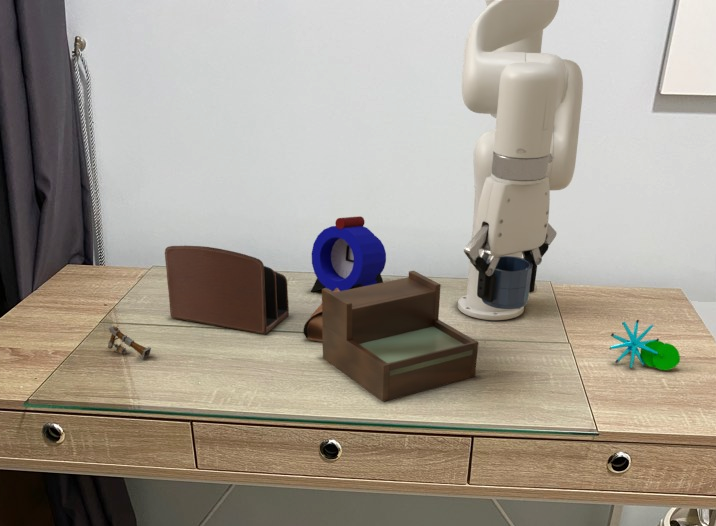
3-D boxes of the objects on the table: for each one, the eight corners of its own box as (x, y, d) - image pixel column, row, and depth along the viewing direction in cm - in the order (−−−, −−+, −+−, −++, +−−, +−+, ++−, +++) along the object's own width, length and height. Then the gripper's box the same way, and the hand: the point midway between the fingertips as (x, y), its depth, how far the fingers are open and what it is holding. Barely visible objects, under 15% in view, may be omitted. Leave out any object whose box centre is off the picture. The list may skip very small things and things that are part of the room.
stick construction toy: (602, 353, 144) (623, 310, 143) (596, 361, 151) (616, 320, 150) (669, 383, 142) (691, 340, 142) (660, 390, 149) (681, 348, 149)
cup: (507, 288, 132) (512, 252, 129) (537, 303, 127) (542, 266, 124) (472, 297, 129) (475, 260, 126) (501, 312, 124) (505, 275, 121)
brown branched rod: (107, 342, 149) (112, 321, 146) (145, 367, 149) (151, 346, 146) (101, 346, 148) (106, 324, 145) (139, 371, 147) (145, 350, 144)
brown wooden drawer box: (322, 357, 147) (321, 288, 140) (410, 336, 155) (413, 270, 148) (382, 401, 134) (385, 328, 127) (475, 376, 141) (482, 305, 134)
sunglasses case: (349, 342, 151) (330, 308, 148) (316, 357, 154) (297, 325, 151) (373, 306, 165) (356, 275, 162) (343, 321, 168) (326, 290, 166)
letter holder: (265, 335, 155) (261, 256, 146) (170, 318, 160) (160, 242, 152) (289, 316, 162) (286, 240, 154) (197, 301, 168) (189, 226, 160)
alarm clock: (308, 292, 172) (306, 215, 163) (344, 276, 180) (344, 201, 172) (359, 306, 167) (359, 226, 158) (393, 288, 175) (396, 211, 166)
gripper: (549, 153, 123) (533, 276, 134) (451, 168, 116) (442, 297, 127) (586, 164, 118) (566, 291, 129) (486, 181, 111) (474, 314, 121)
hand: (505, 293), depth 128 cm, fingers closed on cup, 6 cm apart
